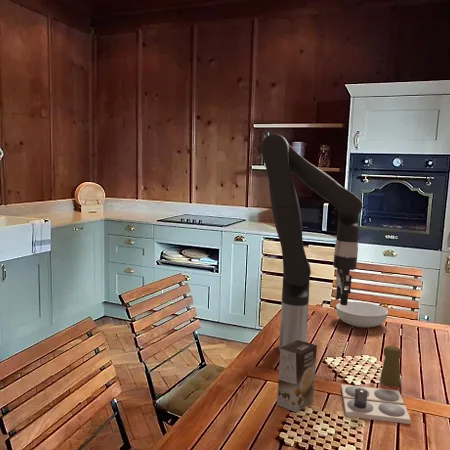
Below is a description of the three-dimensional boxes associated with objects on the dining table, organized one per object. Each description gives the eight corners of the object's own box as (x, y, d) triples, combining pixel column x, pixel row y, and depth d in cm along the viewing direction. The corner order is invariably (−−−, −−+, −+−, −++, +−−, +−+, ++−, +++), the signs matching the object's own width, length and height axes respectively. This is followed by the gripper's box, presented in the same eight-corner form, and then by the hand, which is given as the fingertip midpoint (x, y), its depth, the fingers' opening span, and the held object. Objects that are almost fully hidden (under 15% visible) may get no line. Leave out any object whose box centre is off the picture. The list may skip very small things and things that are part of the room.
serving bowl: (392, 322, 200) (393, 306, 200) (379, 336, 183) (380, 319, 182) (344, 313, 211) (345, 298, 210) (327, 325, 194) (328, 309, 193)
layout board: (345, 416, 123) (345, 411, 123) (341, 388, 138) (341, 383, 138) (410, 424, 120) (410, 418, 120) (398, 394, 136) (398, 389, 136)
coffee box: (296, 413, 123) (300, 354, 121) (276, 405, 127) (279, 347, 125) (314, 400, 130) (317, 344, 128) (294, 393, 134) (297, 338, 132)
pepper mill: (402, 387, 140) (405, 352, 139) (380, 385, 141) (383, 349, 140) (399, 378, 146) (401, 344, 145) (378, 376, 147) (381, 342, 146)
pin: (354, 407, 125) (355, 393, 124) (353, 401, 128) (354, 387, 127) (367, 409, 124) (368, 394, 123) (365, 403, 127) (366, 389, 127)
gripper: (331, 250, 166) (327, 295, 167) (337, 256, 152) (333, 306, 153) (353, 252, 165) (348, 297, 167) (361, 258, 151) (356, 308, 153)
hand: (341, 301), depth 160 cm, fingers open, 8 cm apart
